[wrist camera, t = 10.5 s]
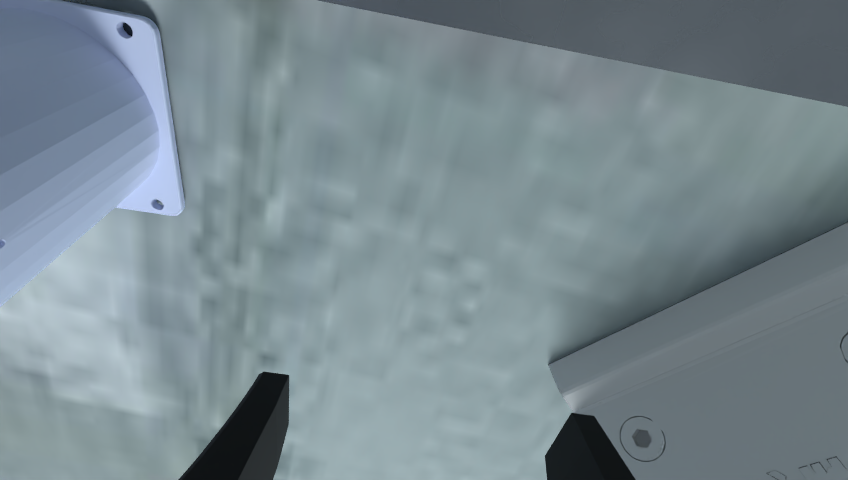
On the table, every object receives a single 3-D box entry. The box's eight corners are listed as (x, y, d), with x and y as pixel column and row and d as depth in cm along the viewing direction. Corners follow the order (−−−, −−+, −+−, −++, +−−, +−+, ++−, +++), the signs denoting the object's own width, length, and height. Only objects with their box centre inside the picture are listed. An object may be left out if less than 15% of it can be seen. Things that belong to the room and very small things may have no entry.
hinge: (861, 215, 20) (1129, 443, 14) (852, 255, 23) (1065, 454, 17) (542, 367, 26) (626, 574, 20) (570, 382, 29) (651, 564, 23)
